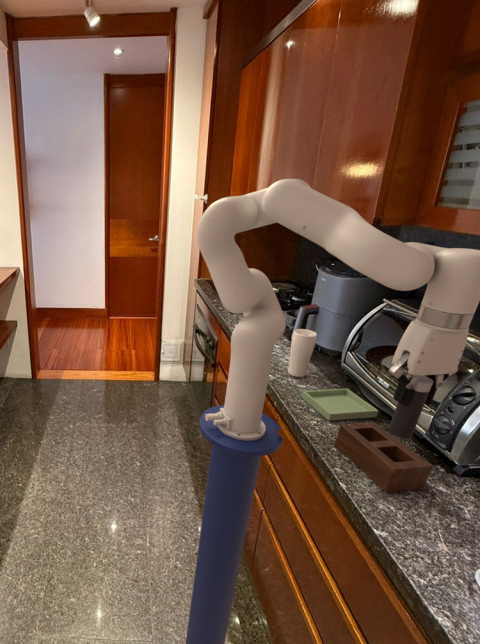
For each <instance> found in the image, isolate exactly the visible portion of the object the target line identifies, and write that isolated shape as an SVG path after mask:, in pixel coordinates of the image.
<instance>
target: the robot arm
mask: <svg viewBox="0 0 480 644" xmlns="http://www.w3.org/2000/svg"><path fill="white" fill-rule="evenodd" d="M277 223H278V224H279V225H281V226H283V227H285V228H287V229H288V230H290V231H291V232H294V233H295V234H298V235H300V236H301V237H304V238H306V239H308V241H311V242H312V243H314V244H316V245H318V246H319V247H321V248H323V249H324V250H325V251H326V252H327V253H329V254H330V255H332V256H334V257H335V258H337V259H339V260H340V261H341V262H343V263H344V264H345V265H346V266H349V268H352V269H353V270H355V271H357V272H358V273H360V274H361V275H364V276H366V277H368V278H369V279H371V280H373V281H375V282H376V283H379V284H380V285H383V287H384V286H385V287H387V288H389V289H392V290H395V291H402V292H405V291H406V292H408V291H413V290H416V289H419V288H421V287H423V286H425V285H426V284H427V286H426V290H425V292H424V295H423V298H422V301H421V303H420V306H419V309H418V312H417V314H416V318H415V319H414V320H411V321H410V323H409V324H408V326H407V328H406V329H405V331H404V333H403V335H402V337H401V338H400V340H399V343H398V346H397V348H396V350H395V352H394V355H393V358H392V361H391V364H392V366H391V367H390V368H389V369H388V371H387V372H388V373H389V374H390V375H391V376H392V377H394V379H395V381H396V382H395V383H398V384H397V385H396V388H395V391H394V394H393V400H394V401H395V402H397V403H398V402H399V403H400V404H402V405H403V406H409V405H410V402H411V399H412V397H413V394H414V391H415V389H413V386H414V385H415V383H416V381H417V379H418V378H419V376H420V375H423V376H426V377H428V378H430V379H432V380H433V384H432V386H431V389H430V392H429V394H428V397H427V399H426V402H425V404H424V405H426V406H431V405H432V403H433V400H434V398H435V395H436V394H437V390H438V388H441V387H442V385H443V382H444V381H445V380H447V379H448V378H449V377H450V376H452V375H454V374H456V373H457V372H458V371H459V364H460V362H461V360H462V357H463V354H464V352H465V348H466V344H467V341H468V336H469V332H470V331H469V330H470V325H471V322H472V321H473V318H474V316H475V313H476V310H477V308H478V306H479V304H480V249H473V248H463V247H462V248H461V247H452V248H448V247H441V246H436V245H431V244H426V243H422V242H415V241H411V242H410V241H408V242H403V241H401V240H399V239H398V238H395V237H393V236H391V235H389V234H387V233H385V232H383V231H382V230H380V229H378V228H376V227H375V226H373V225H371V224H370V223H369V222H368V221H366V220H365V218H363V217H362V216H361V215H360V213H358V211H356V210H355V209H354V208H353V207H351V206H349V205H347V204H345V203H343V202H340V201H338V200H336V199H334V198H332V197H330V196H327V195H326V194H323V193H321V192H319V191H317V190H315V189H314V188H312V187H311V185H309V183H307V182H306V181H304V180H303V179H301V178H300V179H299V178H283V179H279V180H277V181H274V182H273V183H272V184H271V185H269V186H268V187H266V188H262V189H260V190H257V191H252V192H249V193H245V194H242V195H235V196H234V195H232V196H225V197H222V198H219V199H218V200H216V201H214V202H212V203H211V204H210V205H209V206H208V207H207V208H206V209H205V211H204V212H203V213H202V215H201V216H200V219H199V221H198V224H197V228H196V229H197V230H196V239H197V240H196V241H197V246H198V249H199V251H200V253H201V256H202V258H203V260H204V262H205V264H206V267H207V269H208V273H209V274H210V277H211V280H212V282H213V285H214V287H215V290H216V292H217V294H218V297H219V299H220V302H221V304H222V306H223V307H224V309H225V310H226V311H228V312H229V313H231V314H236V315H237V314H242V315H243V317H244V318H242V319H241V320H240V321H239V322H238V323H237V324H236V326H234V329H233V330H232V333H231V336H230V359H229V360H230V362H229V368H228V376H227V385H226V390H225V398H224V404H223V405H224V408H220V412H217V413H216V414H206V415H205V419H206V421H213V423H214V425H217V427H218V428H219V430H220V431H221V432H223V433H224V434H226V435H227V436H229V437H232V438H235V439H238V440H244V441H252V440H257V439H260V438H261V437H263V436H264V434H265V431H266V427H265V424H264V423H263V422H262V421H261V417H262V413H263V411H264V405H265V401H266V395H267V389H268V385H269V380H270V379H269V378H270V373H271V367H272V356H273V355H272V354H273V349H274V346H275V345H276V344H277V342H278V341H279V340H280V339H281V338H282V337H283V335H284V333H285V330H286V328H287V327H286V325H287V323H286V318H285V315H284V312H283V310H282V307H281V304H280V302H279V300H278V297H277V294H276V292H275V290H274V287H273V285H272V283H271V281H270V279H269V278H268V277H267V275H266V274H265V273H264V272H262V271H261V270H260V269H257V268H254V267H253V268H252V267H251V268H249V266H248V264H247V262H246V260H245V256H244V254H243V251H242V250H241V248H240V247H239V245H238V244H237V242H236V240H235V235H236V234H239V233H243V232H246V231H250V230H253V229H257V228H262V227H265V226H269V225H273V224H277ZM408 375H411V377H410V379H409V380H408V378H407V376H408Z"/></svg>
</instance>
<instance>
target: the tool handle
mask: <svg viewBox="0 0 480 644" xmlns="http://www.w3.org/2000/svg"><path fill="white" fill-rule="evenodd" d="M406 377H407V378H408V380H409V379H410V377H411V375H409V374H407V376H406ZM432 384H433V380H432V379H430V378H428V377H426V376H425V375H420V376H419V378H418V379H417V381H416V383H415V385H414V386H413V389H415V391H414V394H413V397H412V399H411V402H410V405H409V406H403V405H402V404H400V403H399V402H397V404H396V407H395V409H394V413H393V415H392V417H391V421H390V424H389V426H388V432H389V433H390V434H391V435H392V436H395V437H398V438H400V439H408V440H409V439H411V438H413V435H414V433H415V430H416V427H417V424H418V423H419V419H420V417H421V414H422V412H423V409H424V407H425V405H426V404H425V402H426V399H427V397H428V394H429V392H430V389H431V386H432Z"/></svg>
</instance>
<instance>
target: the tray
mask: <svg viewBox="0 0 480 644" xmlns="http://www.w3.org/2000/svg"><path fill="white" fill-rule="evenodd" d="M301 398H302V399H303V400H304V401H305V402H306V403H308V404H309V405H310V406H311V407H312V408H313V409H315V411H316V412H318V413H319V414H320V415H321V416H322V417H324V418H325V419H326V420H327V421H329V422H330V421H343V420H356V419H357V420H359V419H369V418H377V417H378V415H379V410H378V409H377V408H375V407H374V406H373V405H371V404H370V403H369V402H367V401H365V400H364V399H363V398H362V397H360V396H359V395H357V394H356V393H354V392H353V391H351V390H350V389H349V388H332V389H329V388H328V389H316V390H315V389H314V390H303V391H302V394H301Z"/></svg>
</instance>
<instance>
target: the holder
mask: <svg viewBox="0 0 480 644" xmlns="http://www.w3.org/2000/svg"><path fill="white" fill-rule="evenodd" d="M334 446H335V447H336V448H337V449H338V450H339V451H340V452H342V453H343V454H344V455H345V456H346V457H347V458H348V459H349V460H350V461H351V462H353V464H355V466H357V467H358V468H359V469H360V470H361V471H362V472H364V474H365V475H366V476H367V477H369V479H371V480H372V481H373V482H374V483H375V484H376V485H377V486H378V487H379V488H380V489H382V490H383V492H384V493H391V492H392V493H393V492H403V491H412V490H414V491H415V490H424V488H425V486H426V484H427V481H428V478H429V477H430V473H431V471H432V470H433V465H432V464H430V463H429V462H428V461H426V460H425V459H424V458H422V457H421V456H420V455H419V454H417V453H416V452H414V450H412V449H411V448H409V447H408V446H406V445H405V444H404V443H402V441H400V440H398V439H397V438H396V437H394V435H393V434H391V433H390V432H389V431H386V430H385V429H384V428H383V427H381V426H380V425H378V424H377V423H376V422H374V421H371V422H357V423H346V424H345V423H344V424H340V425H339V429H338V432H337V436H336V439H335V443H334Z"/></svg>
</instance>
